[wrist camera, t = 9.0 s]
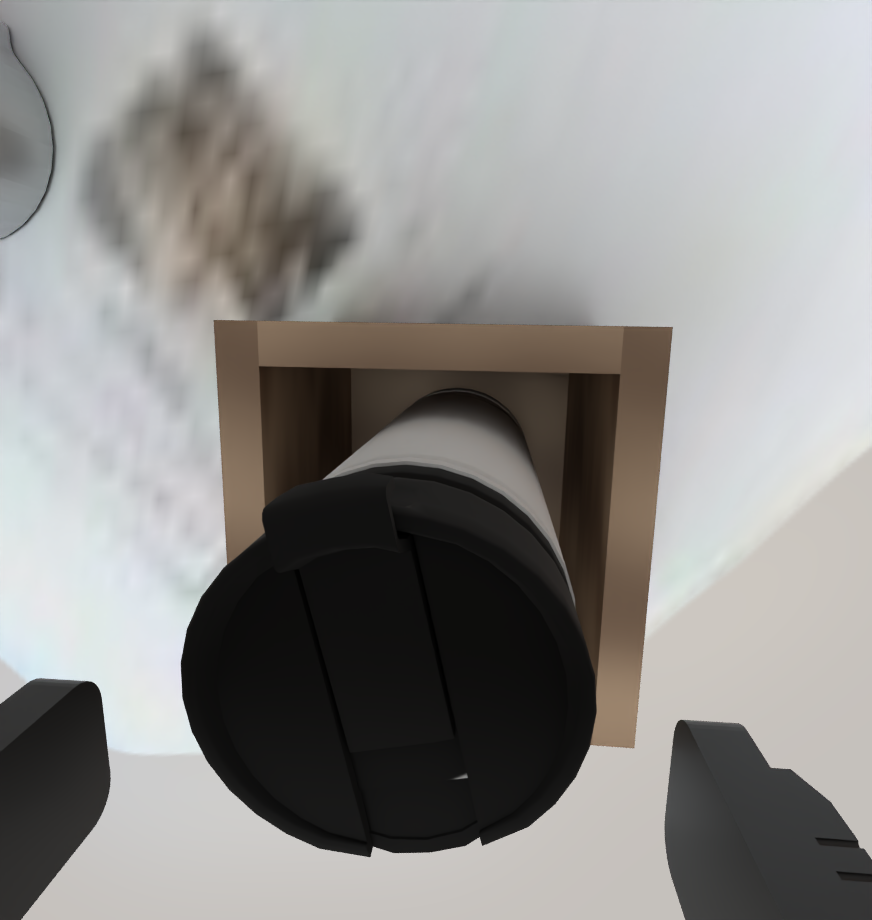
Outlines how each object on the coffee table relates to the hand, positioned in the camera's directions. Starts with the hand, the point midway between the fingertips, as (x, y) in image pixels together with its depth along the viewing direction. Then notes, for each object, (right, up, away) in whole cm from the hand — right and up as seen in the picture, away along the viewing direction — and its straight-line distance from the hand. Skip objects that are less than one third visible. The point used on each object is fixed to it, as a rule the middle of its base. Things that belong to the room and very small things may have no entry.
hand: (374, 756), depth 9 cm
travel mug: (+2, +4, +20) cm, 20 cm away
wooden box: (+2, +4, +21) cm, 21 cm away
